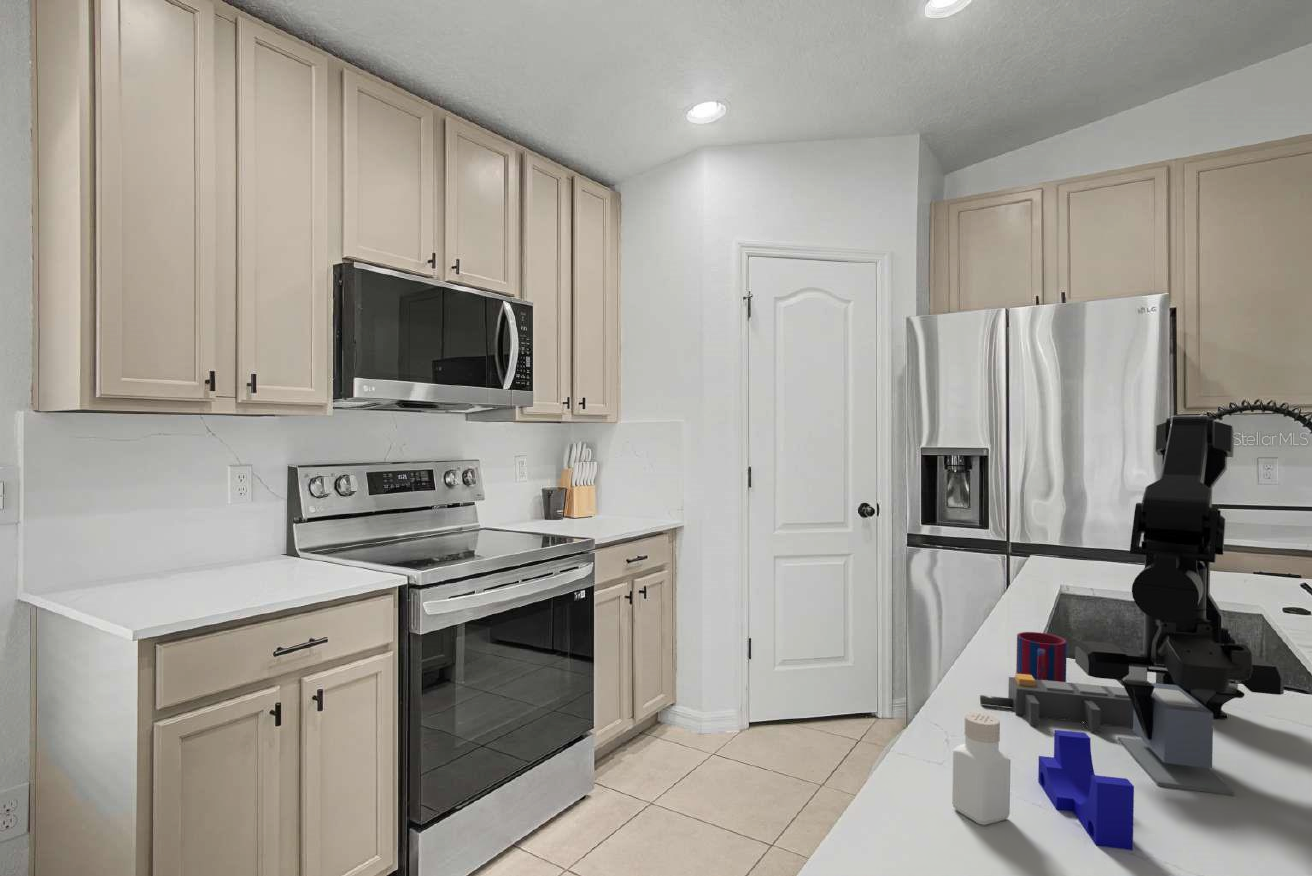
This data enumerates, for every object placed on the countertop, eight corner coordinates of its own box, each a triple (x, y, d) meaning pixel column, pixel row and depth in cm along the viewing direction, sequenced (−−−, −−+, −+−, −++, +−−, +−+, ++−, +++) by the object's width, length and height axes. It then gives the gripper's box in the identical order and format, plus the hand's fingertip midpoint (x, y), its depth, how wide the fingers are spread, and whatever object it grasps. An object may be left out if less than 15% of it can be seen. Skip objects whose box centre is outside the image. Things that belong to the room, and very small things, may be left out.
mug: (1067, 680, 110) (1068, 636, 110) (1061, 700, 102) (1062, 652, 102) (1019, 671, 114) (1020, 629, 114) (1009, 689, 106) (1010, 643, 106)
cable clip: (1038, 783, 77) (1039, 728, 77) (1084, 788, 76) (1085, 732, 76) (1077, 845, 66) (1079, 780, 66) (1132, 852, 65) (1134, 786, 65)
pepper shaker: (982, 828, 68) (983, 728, 68) (949, 808, 71) (951, 713, 71) (1012, 820, 69) (1014, 722, 69) (978, 800, 73) (980, 708, 73)
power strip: (1137, 715, 96) (1138, 683, 96) (1164, 740, 88) (1164, 706, 88) (977, 698, 102) (978, 668, 102) (988, 721, 94) (989, 688, 94)
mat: (1183, 747, 86) (1183, 744, 86) (1234, 795, 75) (1234, 791, 75) (1118, 739, 88) (1118, 736, 88) (1157, 785, 77) (1157, 781, 77)
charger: (1175, 734, 86) (1176, 683, 86) (1212, 768, 77) (1213, 711, 77) (1133, 730, 87) (1134, 679, 87) (1164, 762, 78) (1165, 706, 78)
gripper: (1106, 615, 76) (1103, 760, 76) (1317, 630, 71) (1314, 786, 71) (1074, 593, 87) (1072, 720, 87) (1256, 605, 82) (1254, 740, 82)
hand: (1171, 740), depth 82 cm, fingers closed on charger, 4 cm apart
